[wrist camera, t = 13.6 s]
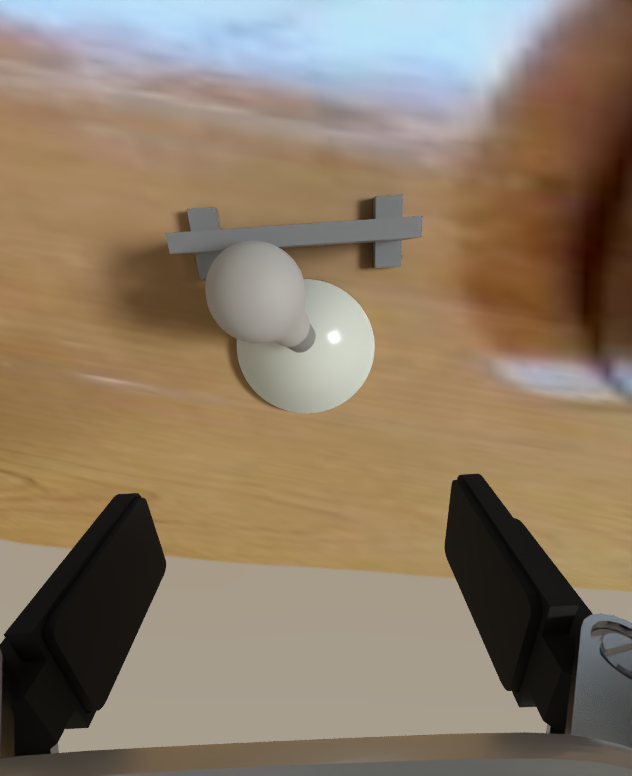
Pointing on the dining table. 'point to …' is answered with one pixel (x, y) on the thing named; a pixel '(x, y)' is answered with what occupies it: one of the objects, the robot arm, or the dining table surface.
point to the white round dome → (314, 355)
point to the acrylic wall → (301, 234)
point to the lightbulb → (259, 296)
